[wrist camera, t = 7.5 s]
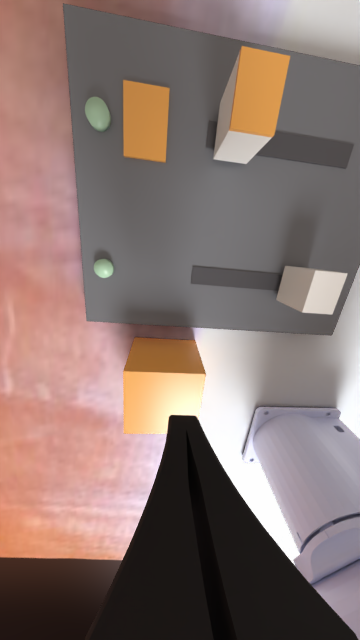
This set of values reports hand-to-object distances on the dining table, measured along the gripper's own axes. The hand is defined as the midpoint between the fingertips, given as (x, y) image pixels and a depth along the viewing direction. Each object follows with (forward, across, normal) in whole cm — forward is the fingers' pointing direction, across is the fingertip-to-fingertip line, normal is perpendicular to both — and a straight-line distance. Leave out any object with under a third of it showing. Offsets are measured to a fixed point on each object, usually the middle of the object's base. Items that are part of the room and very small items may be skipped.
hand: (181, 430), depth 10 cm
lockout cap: (+8, +1, +2) cm, 9 cm away
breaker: (+6, -8, -7) cm, 12 cm away
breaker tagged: (+6, -2, -15) cm, 16 cm away
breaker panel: (+8, -3, -11) cm, 14 cm away
